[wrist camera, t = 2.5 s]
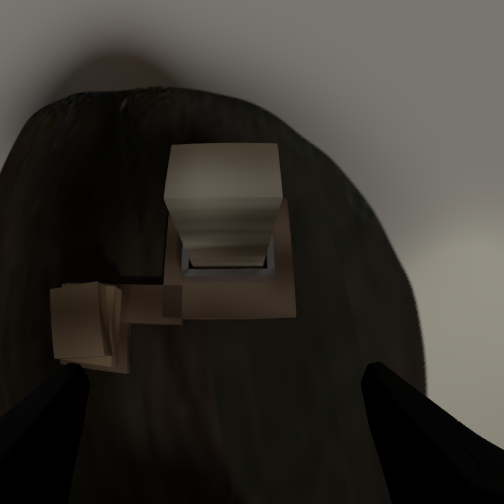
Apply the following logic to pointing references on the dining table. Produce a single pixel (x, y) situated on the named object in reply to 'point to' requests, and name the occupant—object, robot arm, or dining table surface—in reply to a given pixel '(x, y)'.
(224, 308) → the rack
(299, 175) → the dining table surface
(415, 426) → the robot arm
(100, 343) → the upper offcut
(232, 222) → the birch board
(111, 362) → the lower offcut
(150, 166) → the dining table surface
